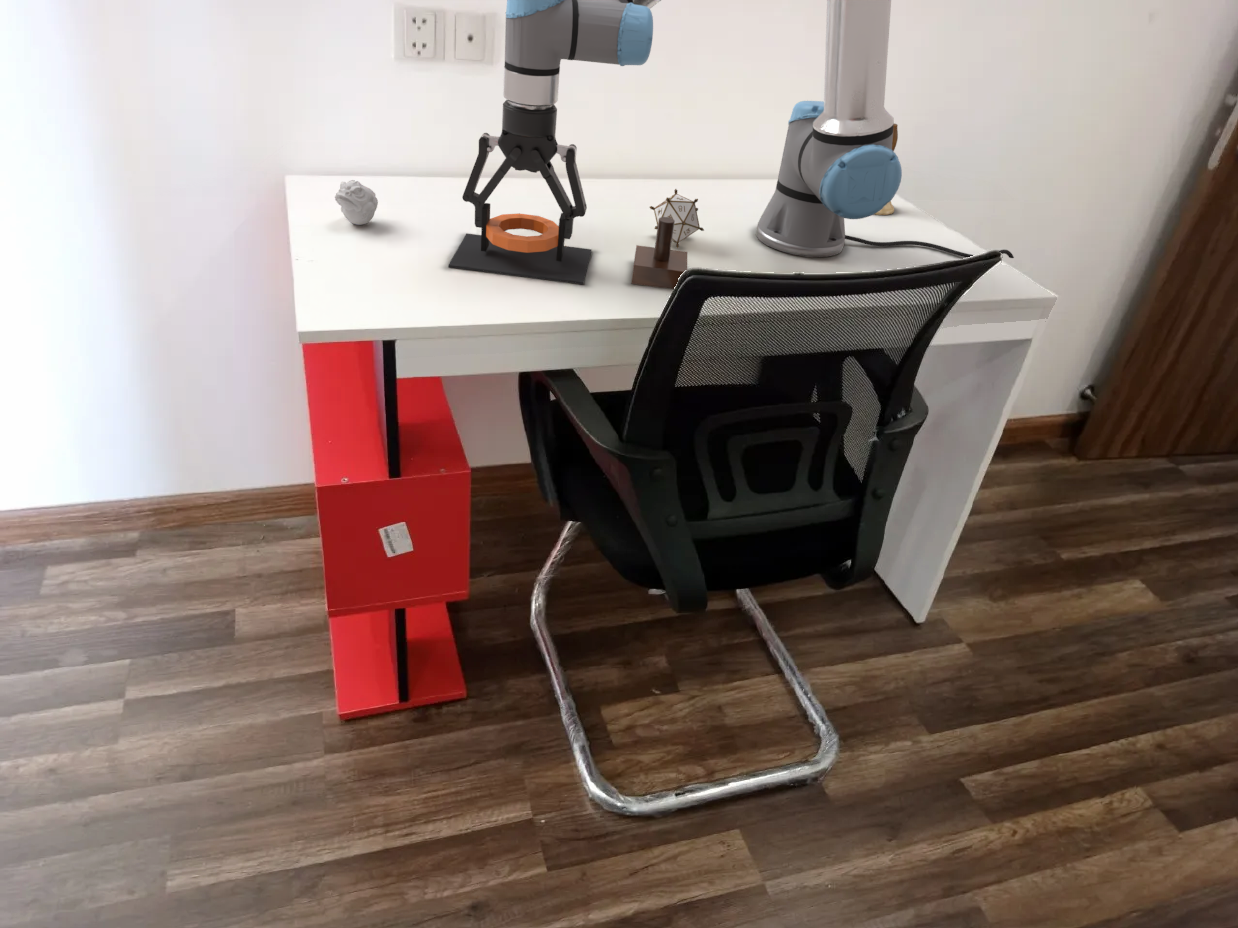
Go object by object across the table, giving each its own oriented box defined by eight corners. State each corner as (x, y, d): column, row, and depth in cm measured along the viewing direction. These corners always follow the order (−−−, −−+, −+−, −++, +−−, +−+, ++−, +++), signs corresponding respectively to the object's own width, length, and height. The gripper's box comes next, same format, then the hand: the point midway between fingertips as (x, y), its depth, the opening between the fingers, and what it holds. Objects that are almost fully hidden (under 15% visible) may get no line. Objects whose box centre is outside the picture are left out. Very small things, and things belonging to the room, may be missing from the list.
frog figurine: (327, 225, 141) (324, 181, 137) (357, 213, 147) (354, 170, 143) (359, 235, 139) (356, 190, 136) (387, 223, 145) (386, 179, 141)
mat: (591, 251, 144) (591, 249, 144) (583, 284, 133) (583, 282, 133) (466, 235, 144) (466, 233, 144) (448, 267, 133) (448, 264, 133)
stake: (684, 269, 142) (693, 214, 137) (684, 290, 136) (693, 233, 131) (634, 263, 142) (641, 207, 137) (631, 283, 136) (638, 226, 130)
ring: (562, 230, 141) (563, 219, 140) (554, 256, 132) (555, 244, 131) (494, 221, 141) (494, 210, 140) (480, 246, 132) (481, 235, 131)
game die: (665, 266, 152) (645, 226, 144) (657, 231, 157) (636, 190, 149) (716, 246, 150) (698, 204, 142) (706, 211, 155) (688, 169, 147)
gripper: (615, 107, 129) (600, 253, 141) (452, 85, 129) (452, 234, 141) (611, 120, 123) (595, 272, 135) (440, 97, 122) (441, 252, 135)
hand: (522, 253), depth 138 cm, fingers closed on ring, 11 cm apart
